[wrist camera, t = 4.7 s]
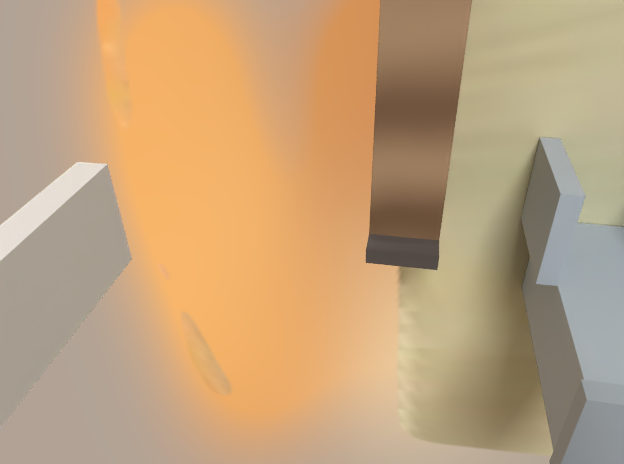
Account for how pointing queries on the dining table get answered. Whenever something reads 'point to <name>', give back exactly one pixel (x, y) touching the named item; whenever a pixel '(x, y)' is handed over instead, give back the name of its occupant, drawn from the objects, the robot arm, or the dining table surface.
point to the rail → (414, 127)
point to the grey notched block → (574, 313)
